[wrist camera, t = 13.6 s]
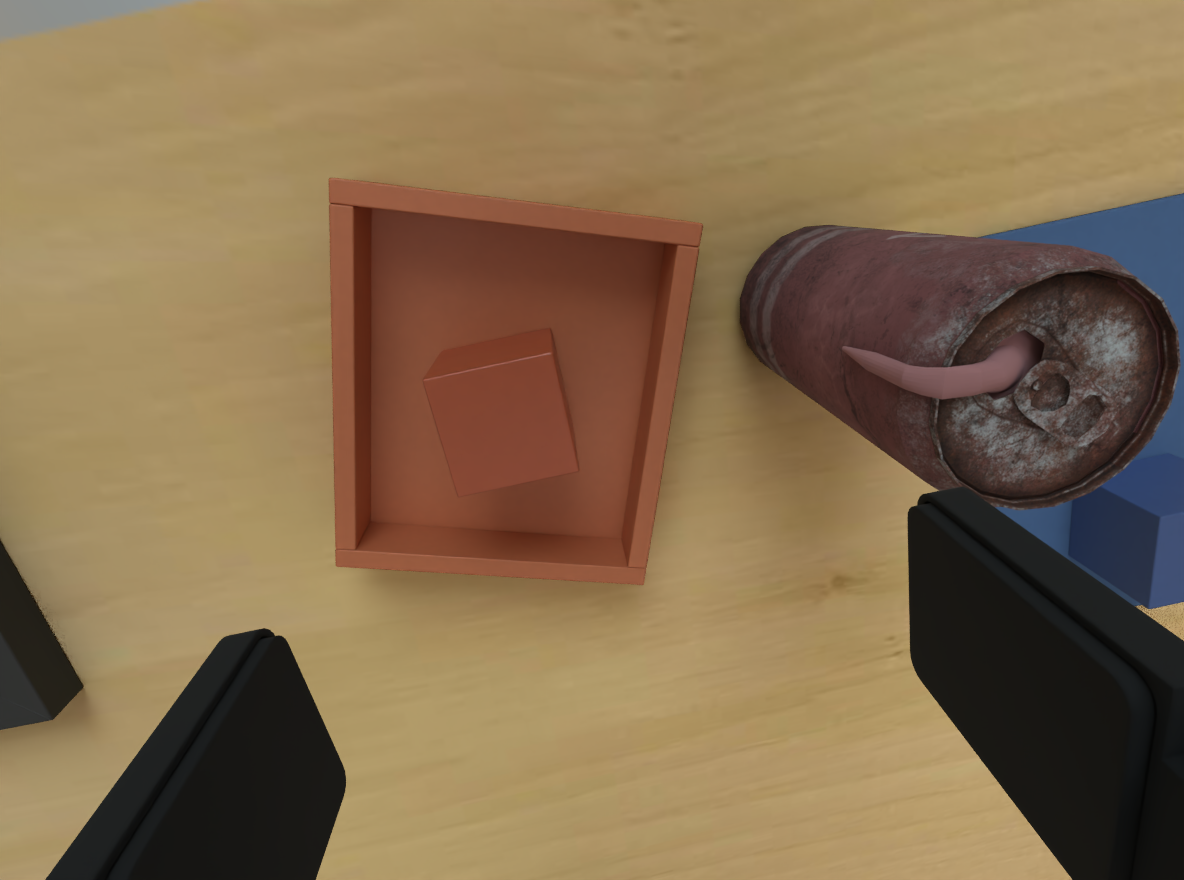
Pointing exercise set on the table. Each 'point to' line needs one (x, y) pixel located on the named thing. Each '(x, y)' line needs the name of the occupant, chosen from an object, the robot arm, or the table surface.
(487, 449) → the terracotta block
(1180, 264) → the blue mat
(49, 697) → the picture frame
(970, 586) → the robot arm
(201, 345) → the table surface
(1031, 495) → the can
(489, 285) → the terracotta tray
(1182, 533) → the blue block
